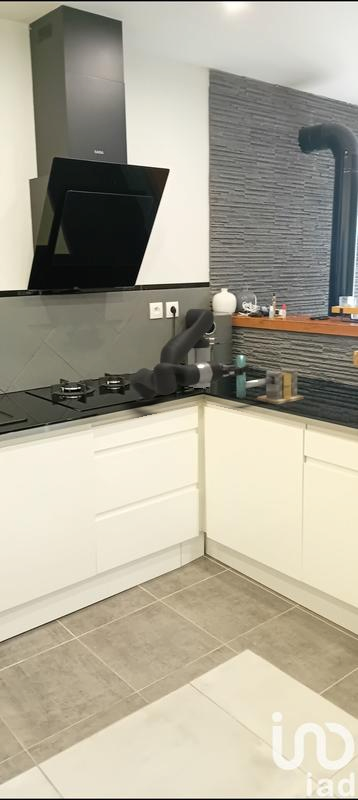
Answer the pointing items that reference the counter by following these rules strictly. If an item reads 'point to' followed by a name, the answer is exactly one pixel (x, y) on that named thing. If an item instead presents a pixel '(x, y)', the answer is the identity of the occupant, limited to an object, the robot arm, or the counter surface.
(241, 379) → the shaft
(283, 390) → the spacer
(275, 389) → the frame
